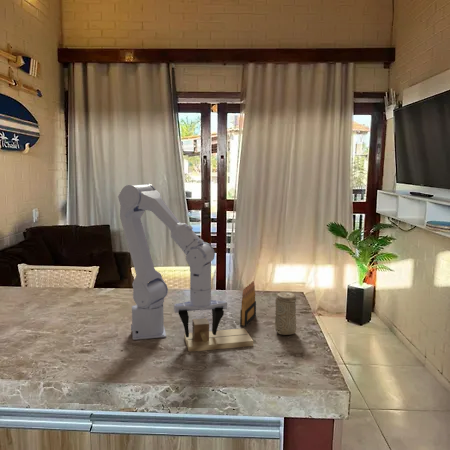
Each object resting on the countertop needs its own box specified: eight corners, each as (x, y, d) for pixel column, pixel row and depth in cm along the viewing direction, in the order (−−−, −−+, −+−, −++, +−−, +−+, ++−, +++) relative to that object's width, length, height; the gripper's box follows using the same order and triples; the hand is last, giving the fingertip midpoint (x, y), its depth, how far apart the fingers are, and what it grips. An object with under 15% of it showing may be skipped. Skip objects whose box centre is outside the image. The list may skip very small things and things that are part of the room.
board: (188, 351, 113) (188, 346, 113) (184, 338, 122) (184, 333, 122) (253, 345, 117) (253, 340, 117) (244, 333, 126) (244, 328, 126)
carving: (291, 327, 130) (292, 290, 129) (299, 337, 123) (301, 298, 121) (271, 328, 130) (272, 291, 128) (278, 338, 122) (279, 298, 120)
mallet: (197, 350, 111) (197, 332, 110) (192, 335, 120) (192, 319, 119) (212, 349, 112) (212, 331, 111) (206, 334, 121) (206, 318, 120)
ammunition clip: (245, 327, 131) (246, 289, 129) (239, 326, 131) (240, 288, 130) (255, 315, 141) (256, 280, 139) (250, 314, 141) (251, 279, 140)
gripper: (176, 293, 111) (176, 342, 113) (229, 290, 114) (229, 338, 116) (173, 286, 117) (173, 332, 119) (223, 283, 121) (223, 328, 123)
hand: (200, 334), depth 118 cm, fingers open, 7 cm apart
